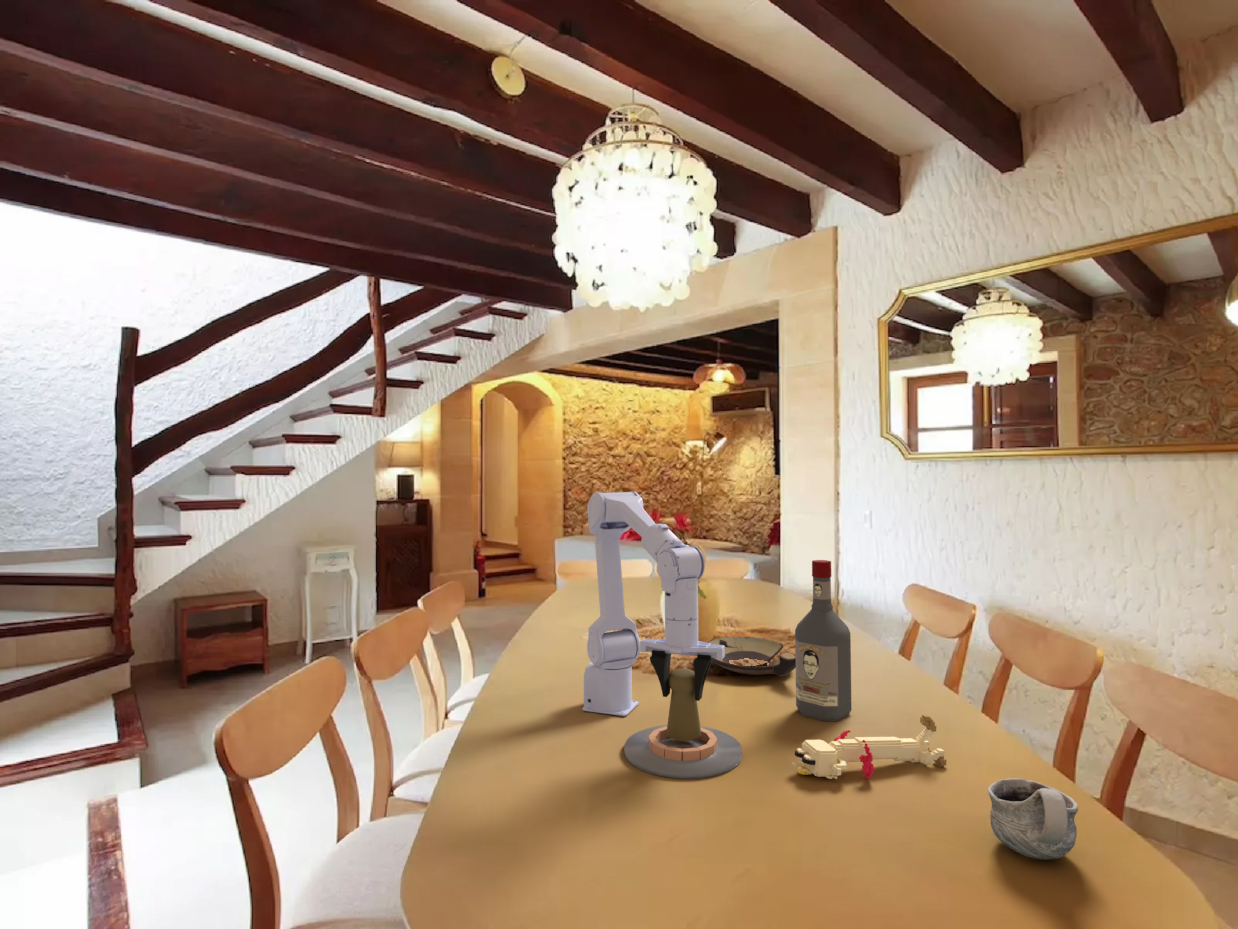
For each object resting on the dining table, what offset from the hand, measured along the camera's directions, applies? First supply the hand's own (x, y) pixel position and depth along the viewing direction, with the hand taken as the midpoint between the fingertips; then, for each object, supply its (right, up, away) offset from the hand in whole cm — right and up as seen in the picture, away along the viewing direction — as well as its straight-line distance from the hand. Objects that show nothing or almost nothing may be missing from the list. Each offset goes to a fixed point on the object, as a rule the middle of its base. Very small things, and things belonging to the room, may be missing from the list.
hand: (682, 697), depth 115 cm
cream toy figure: (+29, -10, -7) cm, 32 cm away
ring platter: (0, -9, 0) cm, 9 cm away
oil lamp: (+21, -10, +45) cm, 51 cm away
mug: (+41, -9, -32) cm, 53 cm away
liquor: (+30, -10, +18) cm, 36 cm away
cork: (0, -7, +2) cm, 7 cm away
